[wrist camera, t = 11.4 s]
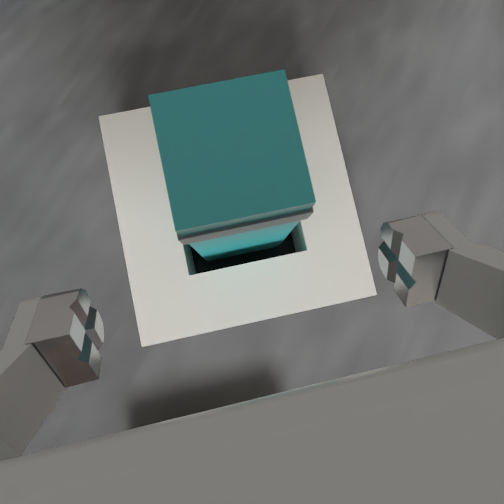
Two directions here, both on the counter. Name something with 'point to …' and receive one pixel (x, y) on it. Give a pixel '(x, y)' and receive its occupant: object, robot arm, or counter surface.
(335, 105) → the counter surface
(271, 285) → the port
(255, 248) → the plug
